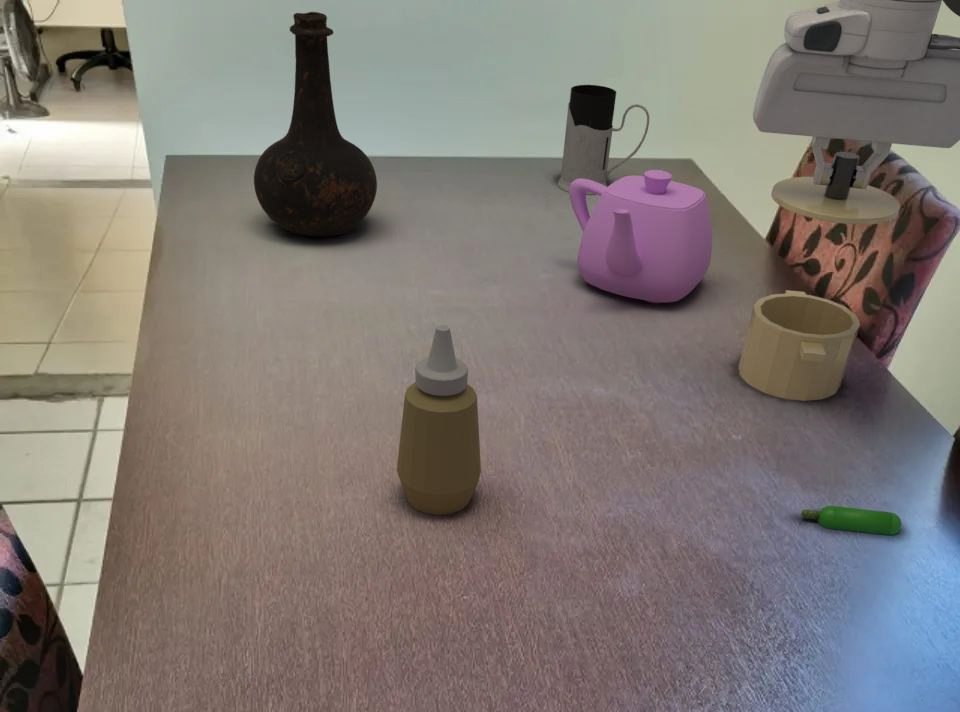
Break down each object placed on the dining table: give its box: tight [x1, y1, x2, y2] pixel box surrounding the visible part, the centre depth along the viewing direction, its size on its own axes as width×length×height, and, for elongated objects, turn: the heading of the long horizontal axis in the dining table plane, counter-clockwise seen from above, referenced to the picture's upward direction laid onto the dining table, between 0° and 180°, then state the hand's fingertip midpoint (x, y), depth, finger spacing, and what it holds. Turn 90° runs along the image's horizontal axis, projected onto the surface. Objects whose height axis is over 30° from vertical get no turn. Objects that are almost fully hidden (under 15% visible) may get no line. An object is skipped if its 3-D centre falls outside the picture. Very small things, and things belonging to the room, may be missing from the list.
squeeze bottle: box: [396, 324, 482, 516], centre depth 89 cm, size 8×8×18 cm
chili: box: [800, 505, 902, 536], centre depth 95 cm, size 10×2×2 cm, turn 83°
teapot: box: [568, 169, 713, 304], centre depth 132 cm, size 23×21×15 cm
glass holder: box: [557, 84, 650, 196], centre depth 164 cm, size 9×14×15 cm, turn 75°
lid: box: [771, 151, 901, 225], centre depth 100 cm, size 13×13×5 cm
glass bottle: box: [253, 11, 378, 238], centre depth 139 cm, size 18×18×28 cm
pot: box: [738, 289, 861, 402], centre depth 116 cm, size 12×17×8 cm
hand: (838, 185), depth 100 cm, fingers closed on lid, 2 cm apart
